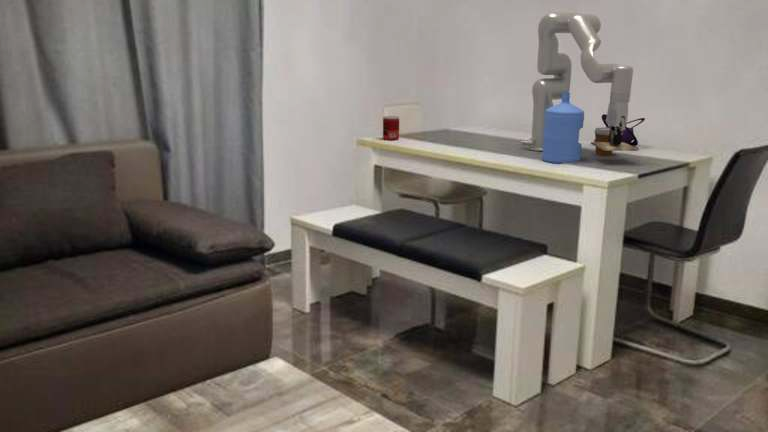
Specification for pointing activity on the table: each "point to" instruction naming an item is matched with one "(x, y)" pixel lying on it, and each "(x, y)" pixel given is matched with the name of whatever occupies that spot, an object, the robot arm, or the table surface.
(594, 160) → the rubber mat
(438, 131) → the table surface
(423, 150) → the table surface
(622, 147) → the oak lid
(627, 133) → the decorative bottle
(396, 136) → the canned food
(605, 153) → the disposable coffee cup
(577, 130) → the water jug
